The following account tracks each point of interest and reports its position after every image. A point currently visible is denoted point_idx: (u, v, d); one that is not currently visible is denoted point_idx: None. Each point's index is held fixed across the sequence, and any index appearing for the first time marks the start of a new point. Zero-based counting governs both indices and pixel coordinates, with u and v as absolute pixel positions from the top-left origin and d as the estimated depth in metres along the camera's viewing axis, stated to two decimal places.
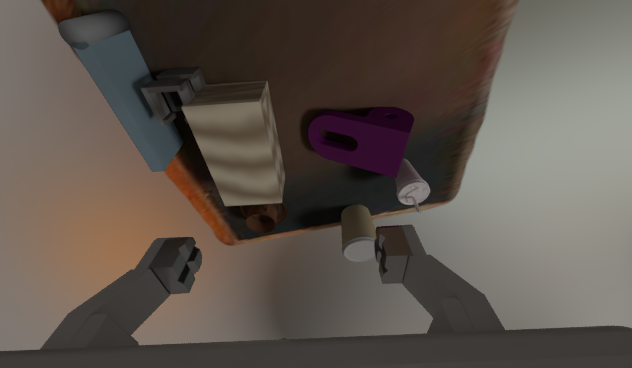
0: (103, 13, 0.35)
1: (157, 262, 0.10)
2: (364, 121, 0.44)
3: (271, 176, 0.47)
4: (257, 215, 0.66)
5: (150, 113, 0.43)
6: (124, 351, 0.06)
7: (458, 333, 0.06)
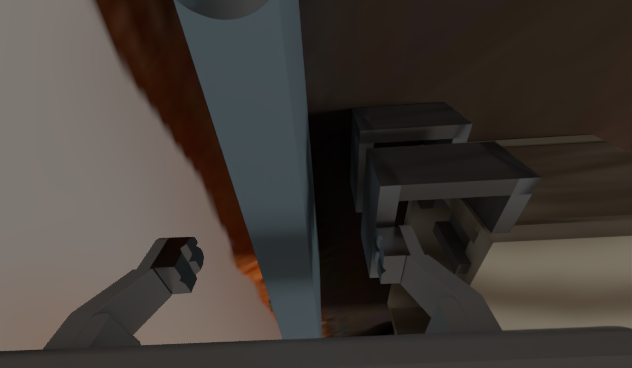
0: None
1: (159, 262, 0.10)
2: None
3: None
4: None
5: (313, 226, 0.16)
6: (124, 351, 0.06)
7: (458, 333, 0.06)
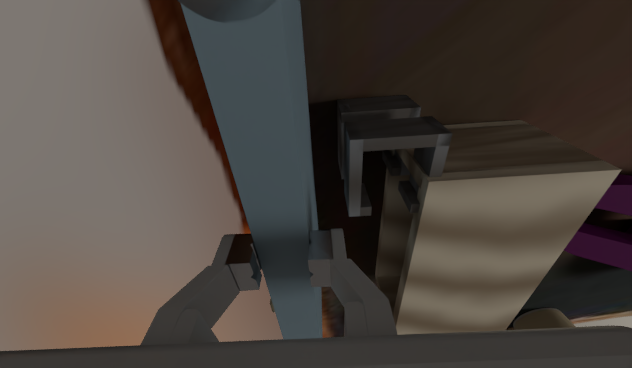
0: None
1: (233, 258, 0.09)
2: None
3: (517, 302, 0.24)
4: None
5: (314, 226, 0.16)
6: (124, 351, 0.06)
7: (458, 333, 0.06)
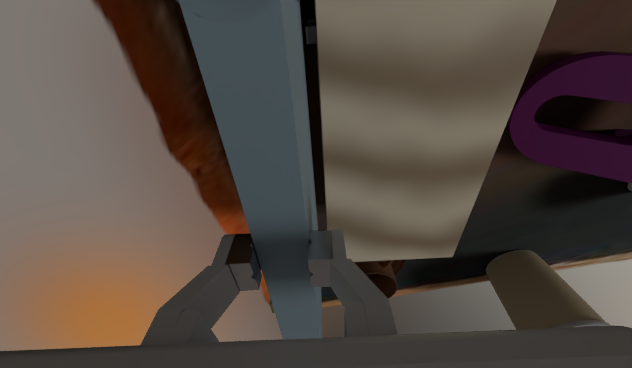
0: None
1: (233, 258, 0.09)
2: None
3: (465, 199, 0.20)
4: None
5: (314, 227, 0.16)
6: (124, 351, 0.06)
7: (458, 333, 0.06)
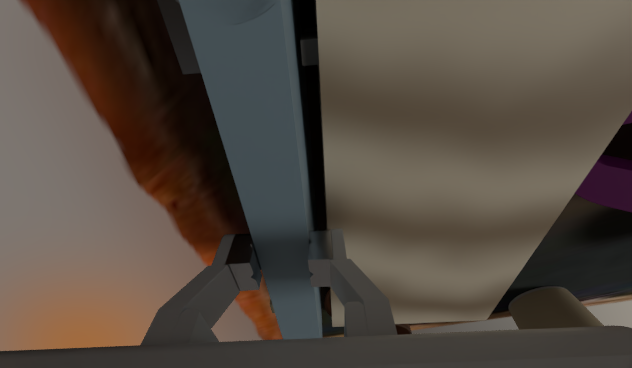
0: None
1: (233, 258, 0.09)
2: None
3: (512, 262, 0.15)
4: None
5: (314, 227, 0.16)
6: (124, 351, 0.06)
7: (458, 333, 0.06)
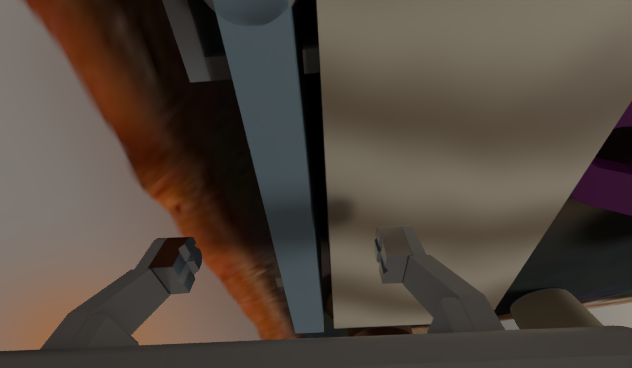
0: None
1: (158, 262, 0.10)
2: None
3: (511, 263, 0.15)
4: None
5: None
6: (124, 351, 0.06)
7: (458, 333, 0.06)
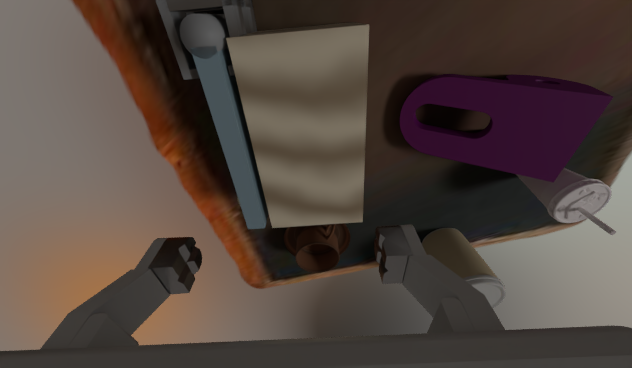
0: None
1: (157, 262, 0.10)
2: (515, 84, 0.26)
3: (356, 175, 0.29)
4: (306, 246, 0.47)
5: None
6: (124, 351, 0.06)
7: (458, 333, 0.06)
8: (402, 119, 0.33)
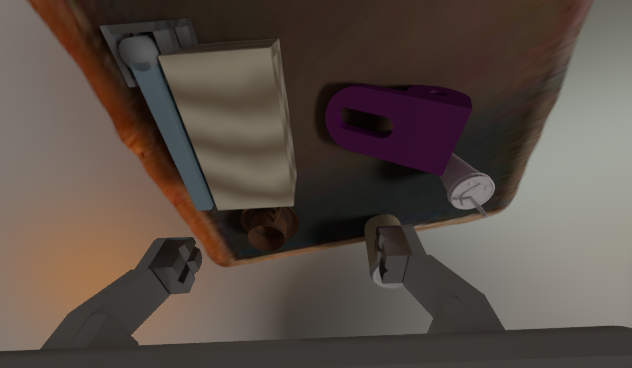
0: None
1: (157, 262, 0.10)
2: (406, 94, 0.32)
3: (281, 166, 0.35)
4: (262, 229, 0.53)
5: None
6: (124, 351, 0.06)
7: (458, 333, 0.06)
8: (327, 120, 0.38)
